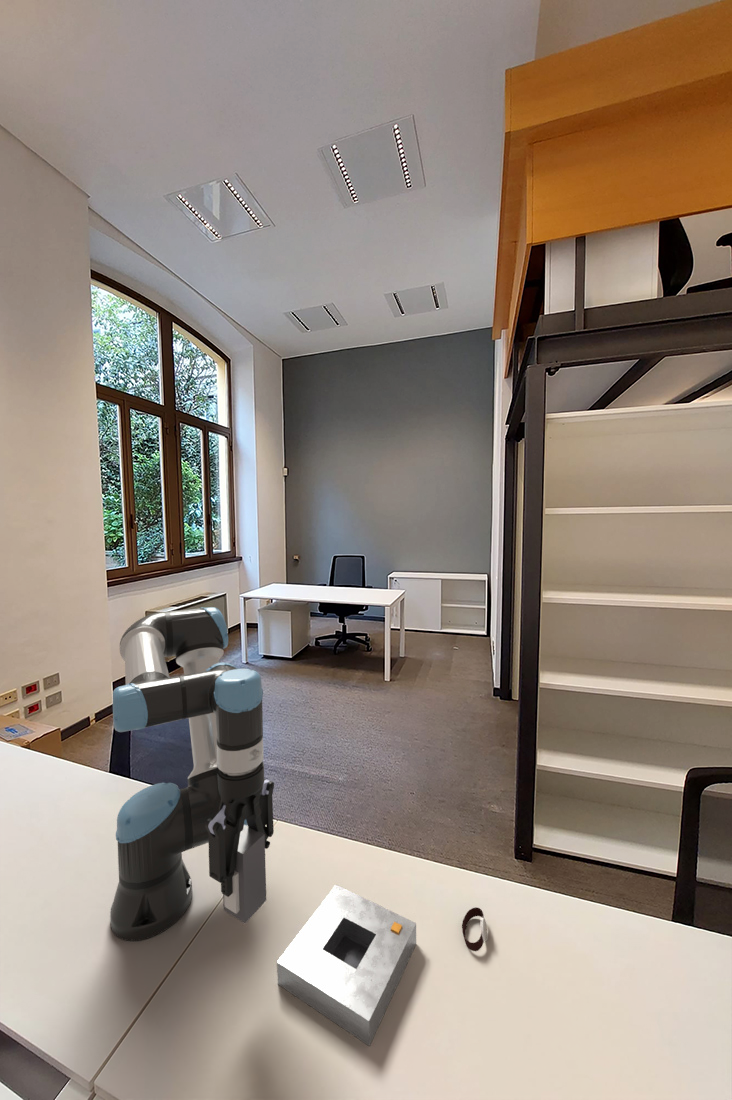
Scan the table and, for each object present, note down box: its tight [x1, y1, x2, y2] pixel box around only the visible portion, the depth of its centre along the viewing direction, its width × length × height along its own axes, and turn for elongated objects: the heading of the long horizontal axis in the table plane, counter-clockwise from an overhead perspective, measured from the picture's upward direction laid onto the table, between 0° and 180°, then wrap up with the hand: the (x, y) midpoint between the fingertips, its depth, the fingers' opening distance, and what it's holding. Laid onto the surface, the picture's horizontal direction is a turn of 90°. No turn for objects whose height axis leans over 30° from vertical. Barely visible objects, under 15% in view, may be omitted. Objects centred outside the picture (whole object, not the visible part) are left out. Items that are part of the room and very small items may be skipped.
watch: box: [461, 907, 488, 952], centre depth 81 cm, size 8×5×4 cm, turn 160°
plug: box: [222, 825, 267, 924], centre depth 73 cm, size 5×5×12 cm
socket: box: [276, 884, 417, 1047], centre depth 76 cm, size 18×18×4 cm
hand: (244, 895), depth 73 cm, fingers closed on plug, 5 cm apart
